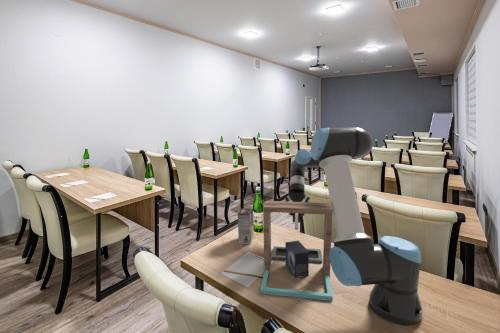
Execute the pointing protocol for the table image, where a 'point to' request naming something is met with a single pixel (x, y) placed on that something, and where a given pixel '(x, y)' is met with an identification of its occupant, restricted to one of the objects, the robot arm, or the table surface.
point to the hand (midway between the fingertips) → (296, 228)
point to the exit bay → (294, 292)
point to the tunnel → (298, 208)
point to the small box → (297, 259)
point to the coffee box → (245, 226)
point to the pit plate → (314, 254)
